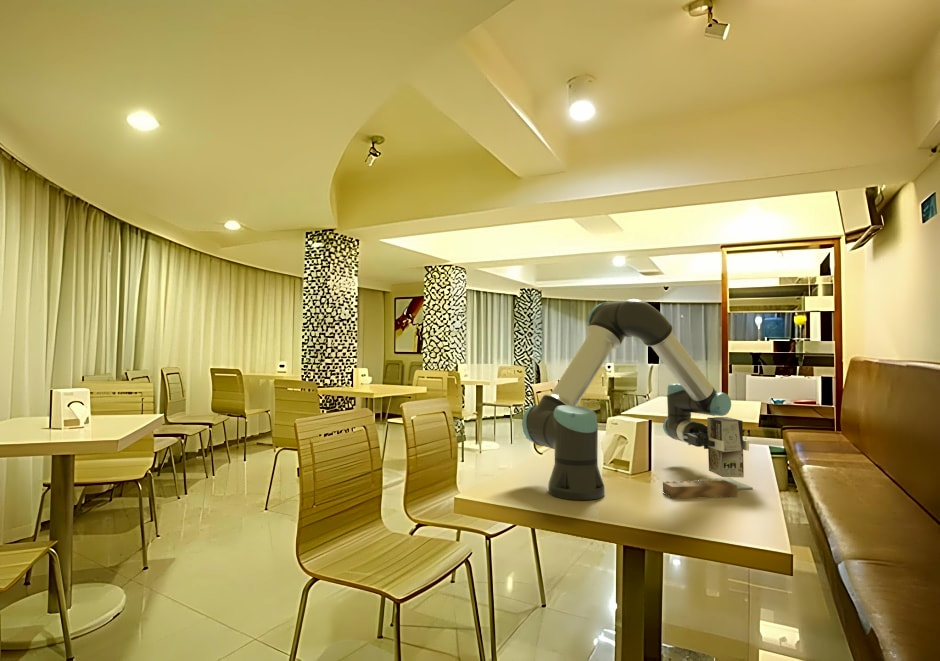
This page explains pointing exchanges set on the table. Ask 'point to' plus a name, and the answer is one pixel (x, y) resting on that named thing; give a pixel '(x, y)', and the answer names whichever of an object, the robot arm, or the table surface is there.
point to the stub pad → (739, 484)
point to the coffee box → (726, 447)
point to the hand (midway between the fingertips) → (735, 446)
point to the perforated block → (699, 489)
